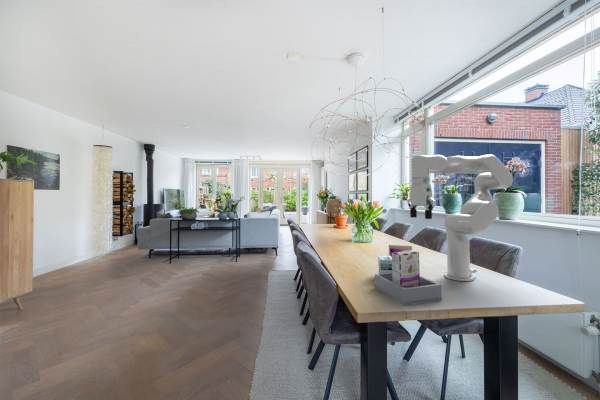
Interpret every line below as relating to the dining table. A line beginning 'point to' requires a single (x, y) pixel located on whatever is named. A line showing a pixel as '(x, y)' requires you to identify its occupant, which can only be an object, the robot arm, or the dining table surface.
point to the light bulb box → (384, 264)
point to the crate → (409, 290)
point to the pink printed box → (398, 248)
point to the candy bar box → (406, 268)
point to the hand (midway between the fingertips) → (420, 218)
